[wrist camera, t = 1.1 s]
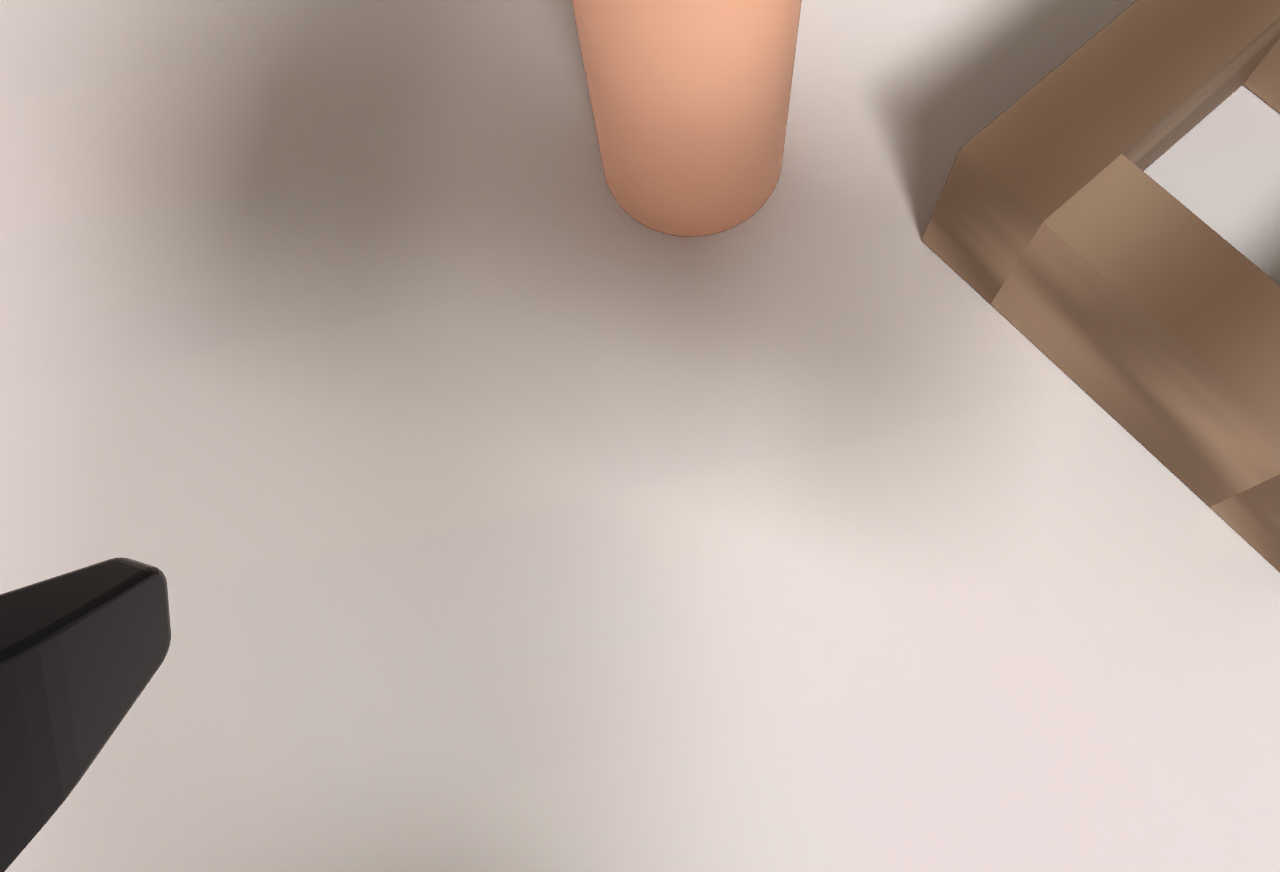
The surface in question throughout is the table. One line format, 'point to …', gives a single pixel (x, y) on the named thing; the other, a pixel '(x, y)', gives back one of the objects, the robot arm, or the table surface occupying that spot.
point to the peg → (689, 105)
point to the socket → (1136, 247)
